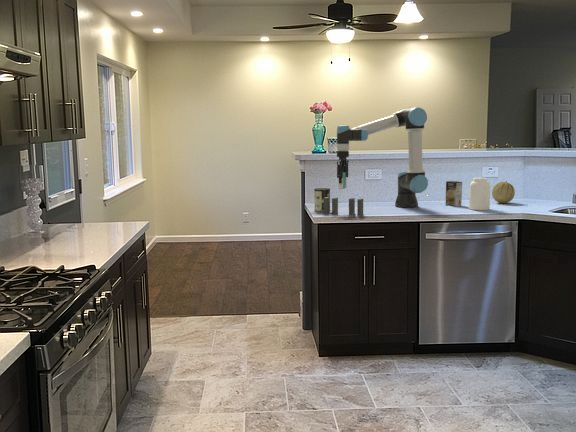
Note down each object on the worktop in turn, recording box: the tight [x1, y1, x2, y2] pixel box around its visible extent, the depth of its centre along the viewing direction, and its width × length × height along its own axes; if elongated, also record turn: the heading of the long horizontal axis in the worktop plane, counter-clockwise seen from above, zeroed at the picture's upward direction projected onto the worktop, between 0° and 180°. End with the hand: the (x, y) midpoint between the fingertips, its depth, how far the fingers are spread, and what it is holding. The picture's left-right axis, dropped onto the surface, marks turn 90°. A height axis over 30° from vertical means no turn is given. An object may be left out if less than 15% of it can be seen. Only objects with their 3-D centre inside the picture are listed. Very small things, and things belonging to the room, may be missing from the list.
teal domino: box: [342, 172, 347, 190], centre depth 382 cm, size 2×5×10 cm, turn 152°
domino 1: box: [323, 196, 331, 215], centre depth 380 cm, size 2×5×10 cm, turn 154°
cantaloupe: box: [491, 180, 516, 204], centre depth 416 cm, size 15×15×15 cm
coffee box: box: [445, 180, 463, 207], centre depth 409 cm, size 9×6×16 cm
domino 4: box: [356, 198, 364, 217], centre depth 370 cm, size 2×5×10 cm, turn 154°
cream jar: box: [468, 177, 491, 211], centre depth 387 cm, size 12×12×20 cm
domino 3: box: [348, 197, 356, 216], centre depth 373 cm, size 2×5×10 cm, turn 154°
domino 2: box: [331, 197, 339, 215], centre depth 377 cm, size 2×5×10 cm, turn 154°
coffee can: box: [313, 187, 331, 213], centre depth 394 cm, size 10×10×14 cm
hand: (342, 188), depth 382 cm, fingers closed on teal domino, 5 cm apart
